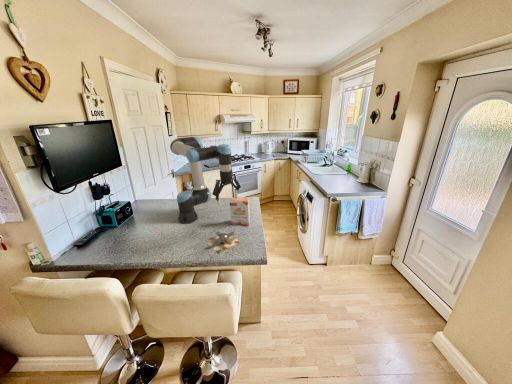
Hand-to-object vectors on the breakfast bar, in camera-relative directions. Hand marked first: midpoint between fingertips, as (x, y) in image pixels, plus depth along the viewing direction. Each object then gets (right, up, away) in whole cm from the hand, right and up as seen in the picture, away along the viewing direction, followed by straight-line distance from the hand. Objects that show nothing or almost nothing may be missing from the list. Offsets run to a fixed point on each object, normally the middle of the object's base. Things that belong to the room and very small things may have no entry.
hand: (227, 201), depth 131 cm
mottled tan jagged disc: (-3, -28, +1) cm, 29 cm away
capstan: (-3, -27, +1) cm, 27 cm away
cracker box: (+6, -19, +25) cm, 32 cm away
